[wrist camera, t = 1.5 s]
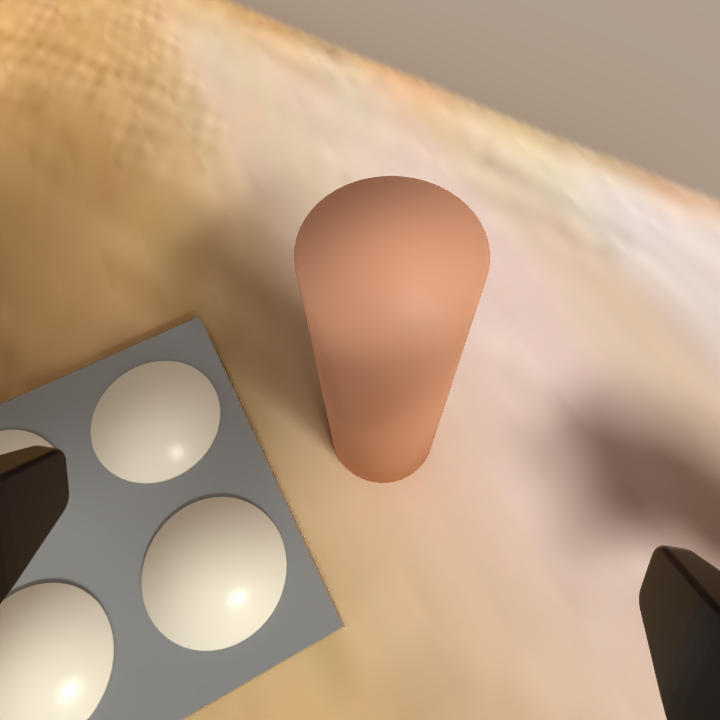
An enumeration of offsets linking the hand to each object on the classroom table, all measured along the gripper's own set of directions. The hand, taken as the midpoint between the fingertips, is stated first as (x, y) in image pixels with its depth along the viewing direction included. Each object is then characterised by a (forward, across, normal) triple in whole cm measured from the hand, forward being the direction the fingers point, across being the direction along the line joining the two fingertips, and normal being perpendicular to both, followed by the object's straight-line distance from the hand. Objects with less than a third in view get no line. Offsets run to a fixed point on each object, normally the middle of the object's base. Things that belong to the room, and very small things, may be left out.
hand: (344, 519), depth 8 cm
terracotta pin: (+13, 0, +5) cm, 14 cm away
